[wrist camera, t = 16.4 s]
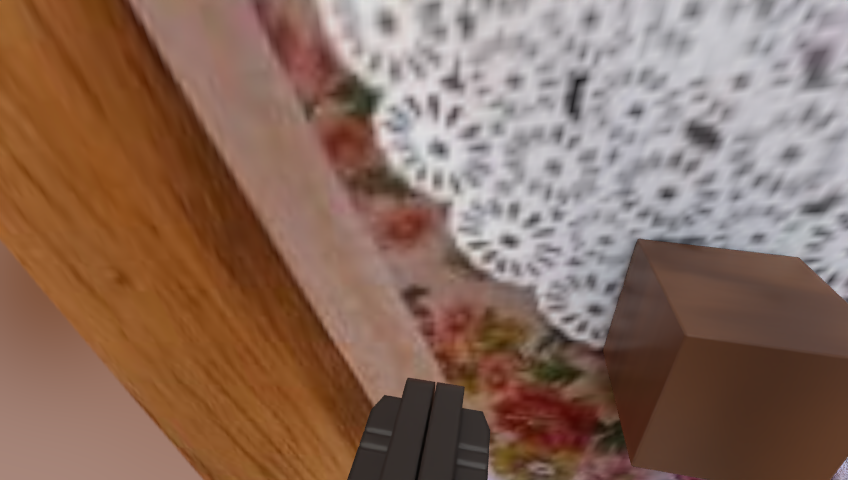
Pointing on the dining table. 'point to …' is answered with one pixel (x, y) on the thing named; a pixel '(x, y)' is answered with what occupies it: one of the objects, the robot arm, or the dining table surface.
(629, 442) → the walnut block
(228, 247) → the dining table surface
